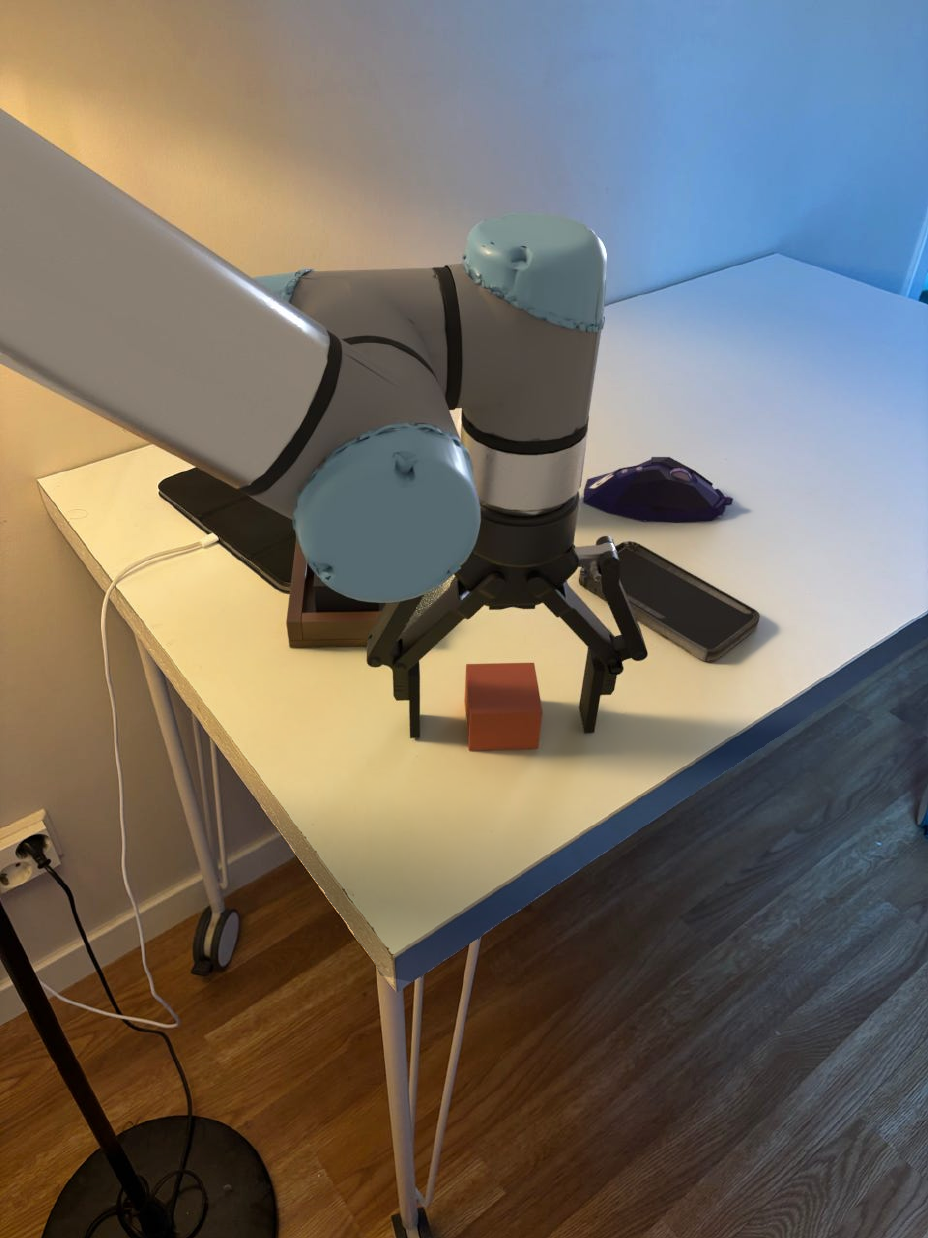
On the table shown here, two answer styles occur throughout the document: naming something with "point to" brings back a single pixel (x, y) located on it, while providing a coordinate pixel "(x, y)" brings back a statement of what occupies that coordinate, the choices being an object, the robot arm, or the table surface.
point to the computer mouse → (656, 493)
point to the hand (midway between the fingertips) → (501, 722)
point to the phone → (679, 603)
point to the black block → (338, 600)
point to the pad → (502, 706)
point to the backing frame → (321, 614)
